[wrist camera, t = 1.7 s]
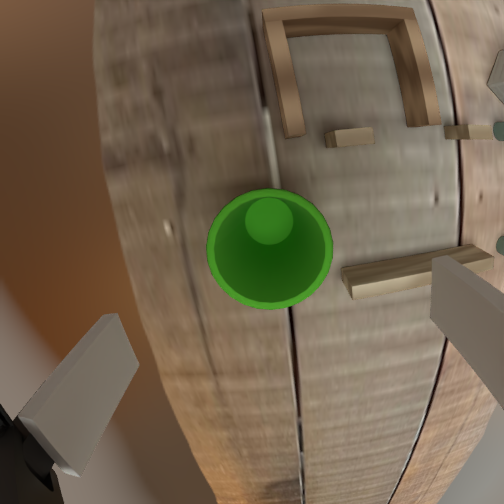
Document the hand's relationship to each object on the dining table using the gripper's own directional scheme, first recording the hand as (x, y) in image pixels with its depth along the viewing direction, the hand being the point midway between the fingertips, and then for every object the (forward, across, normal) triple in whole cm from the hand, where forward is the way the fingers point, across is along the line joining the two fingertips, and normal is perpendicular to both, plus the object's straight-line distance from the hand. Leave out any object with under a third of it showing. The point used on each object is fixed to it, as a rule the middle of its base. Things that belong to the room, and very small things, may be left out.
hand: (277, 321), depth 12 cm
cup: (+22, 0, 0) cm, 22 cm away
